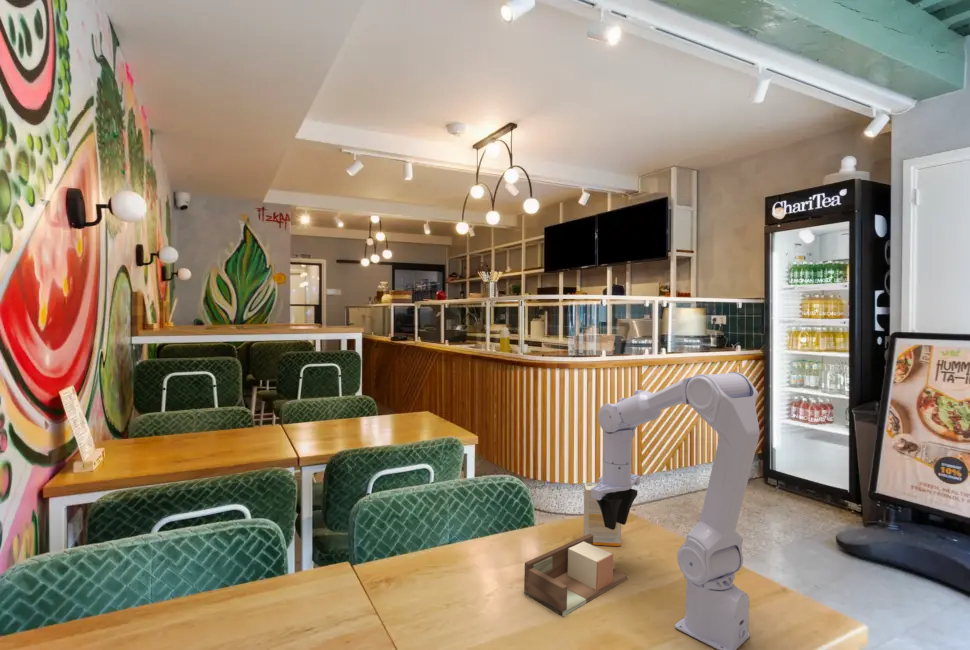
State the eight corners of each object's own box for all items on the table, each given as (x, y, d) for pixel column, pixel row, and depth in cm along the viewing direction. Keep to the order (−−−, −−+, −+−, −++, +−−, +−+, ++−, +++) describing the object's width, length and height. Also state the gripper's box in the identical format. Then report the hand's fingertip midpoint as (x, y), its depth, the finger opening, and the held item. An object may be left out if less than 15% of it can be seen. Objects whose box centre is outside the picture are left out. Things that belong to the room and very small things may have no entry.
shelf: (627, 579, 105) (628, 549, 105) (563, 616, 92) (563, 583, 92) (588, 561, 113) (589, 533, 112) (524, 593, 99) (524, 562, 99)
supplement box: (617, 538, 124) (619, 483, 124) (620, 547, 119) (622, 490, 119) (582, 536, 125) (583, 481, 125) (584, 545, 120) (585, 488, 120)
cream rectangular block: (612, 581, 103) (613, 554, 103) (597, 590, 99) (598, 562, 99) (583, 567, 108) (583, 541, 108) (567, 575, 105) (568, 548, 105)
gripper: (620, 450, 116) (618, 511, 116) (579, 462, 106) (577, 528, 107) (649, 458, 111) (647, 521, 111) (608, 471, 101) (606, 540, 102)
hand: (615, 525), depth 109 cm, fingers open, 3 cm apart
